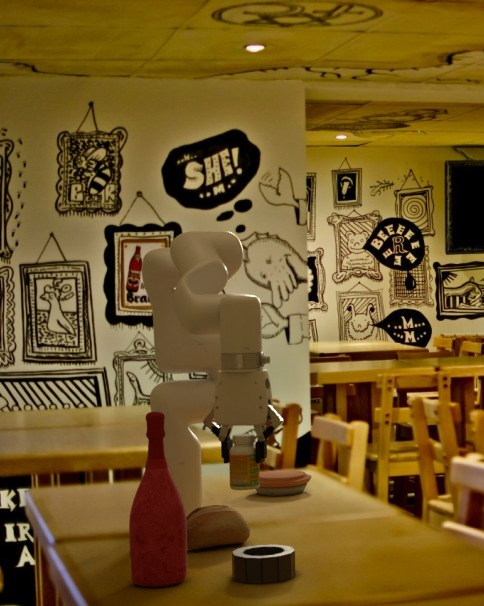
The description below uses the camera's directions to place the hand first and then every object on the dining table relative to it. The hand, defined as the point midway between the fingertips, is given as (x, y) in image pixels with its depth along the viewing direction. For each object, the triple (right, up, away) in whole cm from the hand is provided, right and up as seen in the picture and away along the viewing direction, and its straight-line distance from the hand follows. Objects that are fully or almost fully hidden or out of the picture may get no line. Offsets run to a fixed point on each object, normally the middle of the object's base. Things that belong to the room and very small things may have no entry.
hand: (244, 461), depth 226 cm
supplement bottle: (0, -5, 0) cm, 5 cm away
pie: (-4, -18, +83) cm, 85 cm away
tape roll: (+4, -20, -5) cm, 21 cm away
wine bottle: (-14, -20, -8) cm, 26 cm away
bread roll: (-9, -20, +21) cm, 30 cm away
